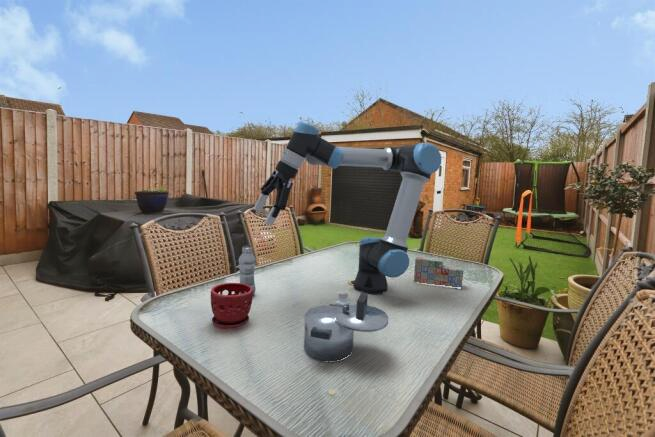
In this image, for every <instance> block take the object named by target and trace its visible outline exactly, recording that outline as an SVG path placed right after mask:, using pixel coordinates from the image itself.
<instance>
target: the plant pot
mask: <svg viewBox="0 0 655 437" xmlns="http://www.w3.org/2000/svg"><path fill="white" fill-rule="evenodd" d="M224 291H227V294H223V292H224ZM245 291H246V293H245ZM233 292H234V293H233ZM240 292H241V293H242V294H239V293H240ZM253 296H254V295H253V288H252V287H251V286H249V285H247V284H242V283H240V282H226V283H220V284H217V285H215V286H213V287H212V288H211V290H210V307H211V312H212V314H213V316H212V317H211V323H212V324H213V325H214V326H215V327H216V328H217V329H221V330H235V329H238V328H242V327H243V326H245V325H246V324H247V323H248V322H249V320H250V315H249V313H250V311H251V309H252V304H253V299H254V298H253Z"/></svg>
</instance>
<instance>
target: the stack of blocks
mask: <svg viewBox="0 0 655 437" xmlns="http://www.w3.org/2000/svg"><path fill="white" fill-rule="evenodd" d="M443 260H444V259H443V258H439V257H437V258H436V257H429V256H420V255H416V256H415V260H414V261H415V262H414V274H413V275H414V277H413V283H414V282H419V283H427V284H435V285H445V286H452V287H461V288H462V287H463V279H464V269H463V266H462V267H461V266H452V265H446V264H444V261H443ZM443 264H444V265H443ZM462 289H463V288H462Z"/></svg>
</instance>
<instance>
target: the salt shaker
mask: <svg viewBox="0 0 655 437" xmlns="http://www.w3.org/2000/svg"><path fill="white" fill-rule="evenodd" d="M348 298H349V292H348V291H346V290H340V291H338V300H336V301H335V304H334V305H340V306H343V305H344V304H347V305H351V301H349V300H348Z"/></svg>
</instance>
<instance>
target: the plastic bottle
mask: <svg viewBox="0 0 655 437" xmlns="http://www.w3.org/2000/svg"><path fill="white" fill-rule="evenodd" d="M241 252H242V253H241V254H240V256H239V257H238V265H239V273H240V274H239V283H242V284H247V285H249V286H251V287H252V288H253V296H254V295H255V293H256V284H255V266H256V258H255V256H254V254H253V253H252V252H253V246H251V245H243V246H242V249H241ZM245 293H246V291H245ZM240 294H242V293H241V292H240V293H239V295H240Z"/></svg>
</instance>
